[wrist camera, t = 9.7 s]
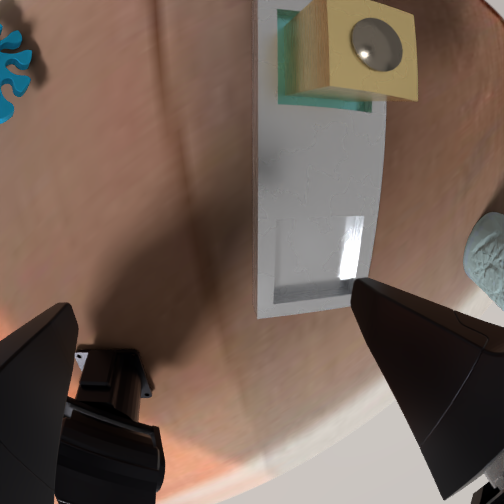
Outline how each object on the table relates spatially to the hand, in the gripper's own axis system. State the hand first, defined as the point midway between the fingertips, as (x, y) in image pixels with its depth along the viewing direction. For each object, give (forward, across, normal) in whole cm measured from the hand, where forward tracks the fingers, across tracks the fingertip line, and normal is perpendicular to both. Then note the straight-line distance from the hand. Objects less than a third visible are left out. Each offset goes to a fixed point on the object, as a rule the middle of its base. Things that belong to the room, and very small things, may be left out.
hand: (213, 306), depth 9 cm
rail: (+13, -8, -2) cm, 15 cm away
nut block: (+12, -8, -9) cm, 17 cm away
